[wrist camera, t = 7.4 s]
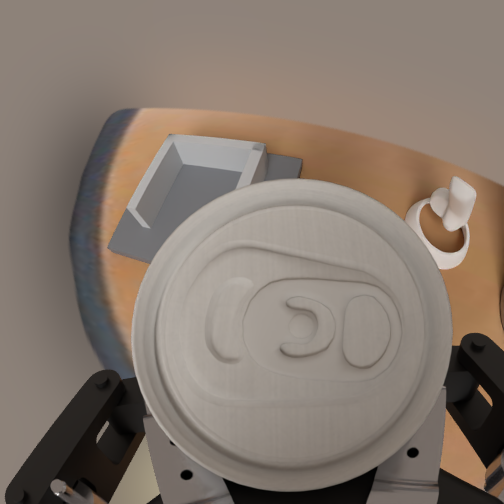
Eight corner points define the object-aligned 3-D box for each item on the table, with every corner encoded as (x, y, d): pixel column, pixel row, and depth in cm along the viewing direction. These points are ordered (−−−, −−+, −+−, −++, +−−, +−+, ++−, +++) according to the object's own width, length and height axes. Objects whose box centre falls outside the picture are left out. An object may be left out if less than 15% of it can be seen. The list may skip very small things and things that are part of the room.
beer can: (251, 313, 19) (161, 160, 6) (341, 322, 18) (449, 179, 5) (237, 402, 17) (91, 457, 4) (331, 412, 16) (446, 500, 2)
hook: (371, 232, 20) (411, 148, 18) (396, 243, 29) (424, 188, 27) (456, 287, 16) (499, 196, 14) (451, 279, 25) (480, 221, 23)
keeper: (301, 166, 29) (303, 134, 25) (265, 296, 24) (260, 277, 20) (167, 148, 33) (154, 120, 28) (112, 252, 27) (88, 231, 23)
